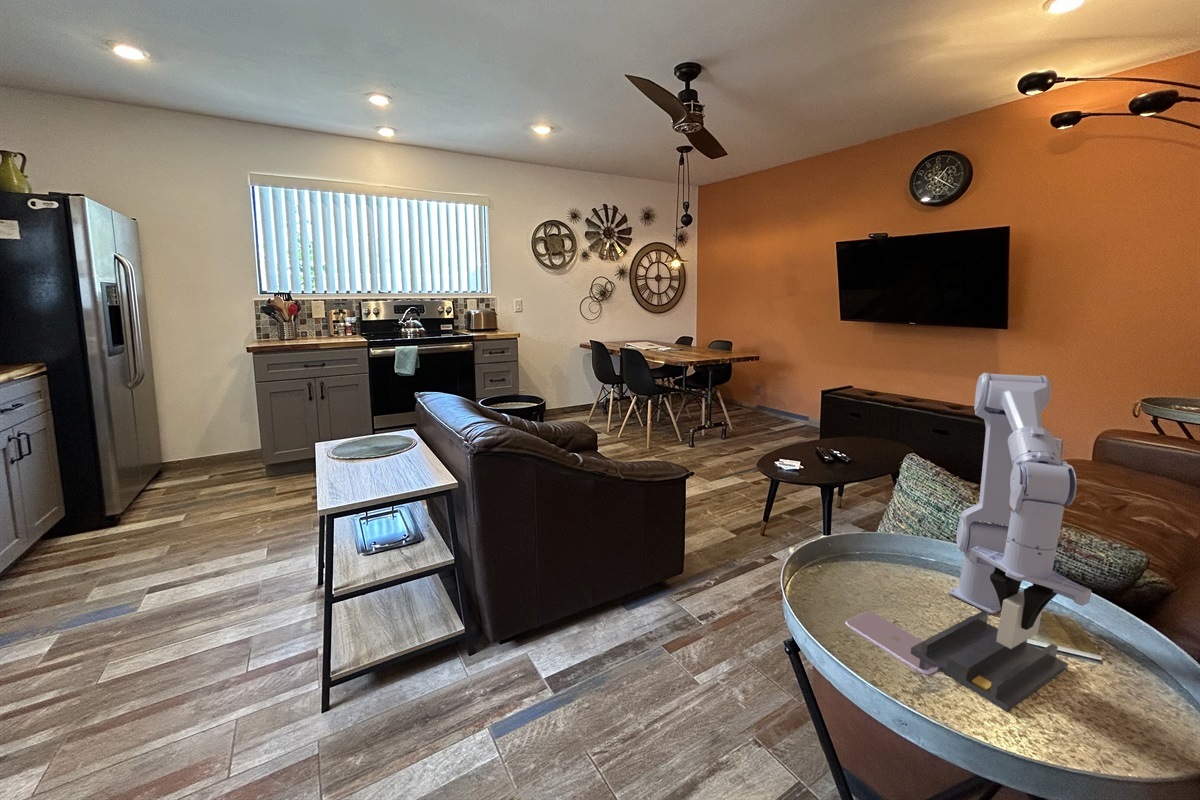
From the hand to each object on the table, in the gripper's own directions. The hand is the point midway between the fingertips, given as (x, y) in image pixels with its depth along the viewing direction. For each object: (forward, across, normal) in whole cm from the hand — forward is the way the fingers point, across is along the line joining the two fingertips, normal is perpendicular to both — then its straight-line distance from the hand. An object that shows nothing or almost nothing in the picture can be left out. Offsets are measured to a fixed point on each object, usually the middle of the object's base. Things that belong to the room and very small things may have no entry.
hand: (1017, 622), depth 80 cm
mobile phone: (+10, -13, -8) cm, 18 cm away
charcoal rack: (+9, -3, 0) cm, 9 cm away
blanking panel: (+3, 0, +1) cm, 3 cm away
